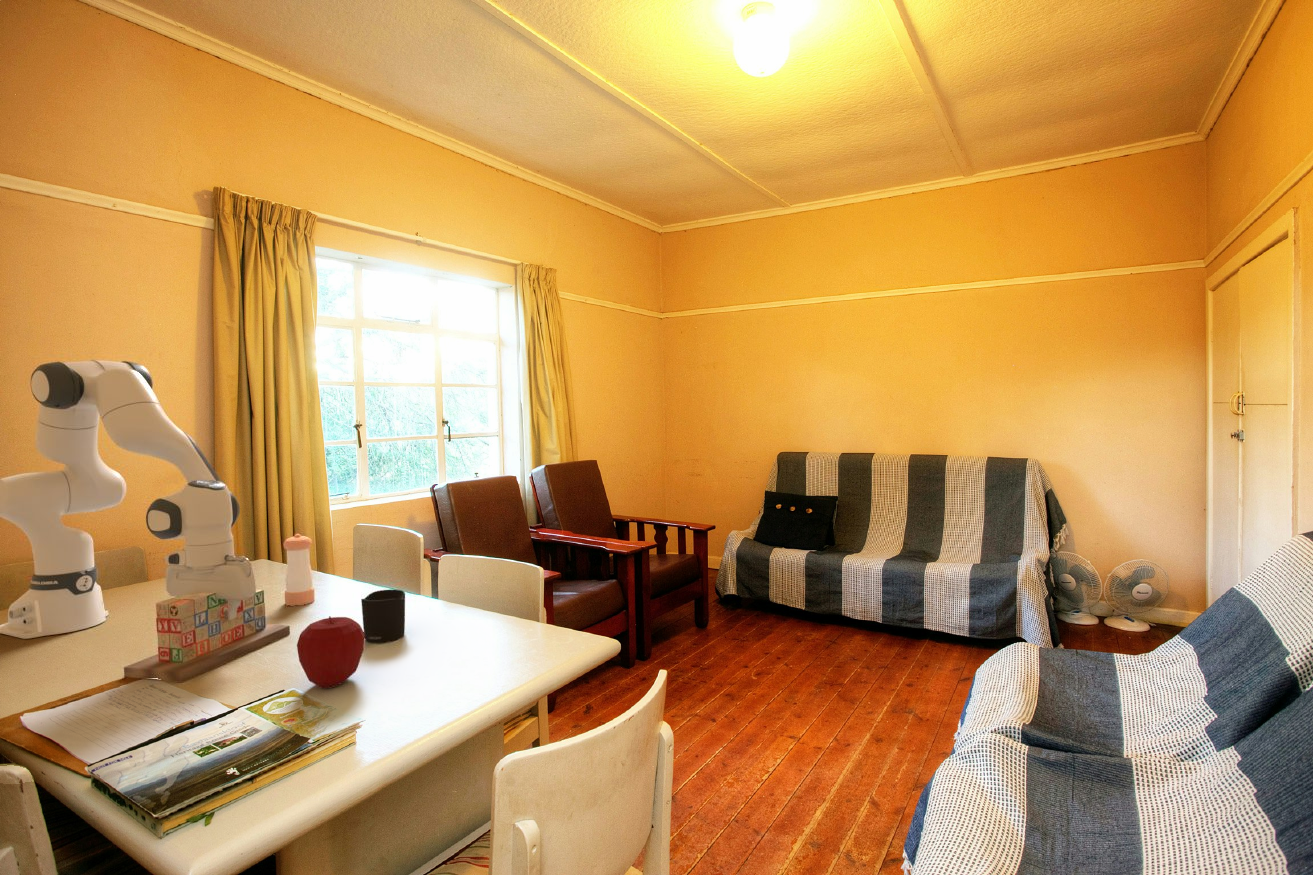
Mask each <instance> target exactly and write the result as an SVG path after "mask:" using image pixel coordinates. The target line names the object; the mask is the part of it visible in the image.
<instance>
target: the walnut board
mask: <svg viewBox="0 0 1313 875" xmlns="http://www.w3.org/2000/svg"><path fill="white" fill-rule="evenodd" d="M290 627H291V626H290V625H284V624H283V625H282V624H272V623H269V624H268V623H266V628H264V629H262V630H259V631H257V632H255V633H252V634H250V635H247V636H245V637H243V638H240V639H238V640H236V641H233V642H231V643H229V644H226V645H224V646H221V647H220V648H217V649H215V650H213V651H210V652H208V653H206V654H203V655H201V656H199V657H196V658H193V659H191V660H189V661H186V662H184V663H178V662H166V661H159V657H158V653H156V654H155V655H152V656H150V657H146V658H144V659H142V660H139V661H136V662H134V663H131V664H128V665H126V666H124V667H123V677H124V678H130V679H140V678H141V679H143V680H147V679H146V678H158V679H161V680H160V681H162V680H163V681H165V682H173V683H174V682H175V683H183V682H186V681H188V680H190V679H192V678H194V677H197V676H199V675H202V674H203V673H205V672H208V671H211V670H212V669H214V668H217V667H219V666H222V665H224V664H226V663H228V662H231V661H233V660H234V659H237V658H239V657H242V656H244V655H246V654H248V653H250V652H252V651H254V650H257V649H259V648H262V647H263V646H266V645H268V644H270V643H272V642H275V641H277V640H280V639H282V638H284V637H286V636H288V635H290V634H291V628H290Z"/></svg>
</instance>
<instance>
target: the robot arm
mask: <svg viewBox="0 0 1313 875" xmlns="http://www.w3.org/2000/svg"><path fill="white" fill-rule="evenodd" d="M30 389H31V393H32V396H33V397H34V399H35V400H36V402H38V403H39V407H38V413H37V420H36V421H37V422H36V433H35V442H34V444H35V449H36V451H37V452H38V453H39V455H41V456H42V457H44V458H46V459H47V460H50V461H53V462H56V463H59V464H62V465H64V468H63V469H61V470H56V471H53V470H52V471H42V472H41V471H40V472H27V473H26V472H25V473H20V474H19V473H18V474H14V475H10V476H6V477H2V478H0V518H2V519H4V520H6V521H8V522H11V523H13V524H14V526H17V527H18V528H19V529H20V530H21V531H22V532H23V533H24V535H26V536H27V538H28V540H29V543H30V546H31V551H32V556H33V564H34V565H33V566H34V567H33V569H34V573H33V575H32V574H31V575H28V576H26V578H28V579H27V580H26V581H27V582H30V583H29V587H28V590H27V591H26V592H25V593H24V594H22V595H21V596H20V597H19V598H18V599H16V600H15V601H14V602H12V603H11V604H10V606H9V607H8V612H7V622H5V623H3V624H0V634H4V635H8V636H11V637H15V638H19V639H22V640H23V639H24V640H26V639H28V640H29V639H33V638H39V637H44V636H51V635H60V634H66V633H71V632H77V631H81V630H84V629H89V628H91V627H94V626H97V625H99V624H102V623H104V622H105V621H106V619H107V618H106V617H108V616H109V610H105V605H104V600H103V599H104V598H103V593H102V592H103V591H102V588H101V586H100V585H99V584H98V583H97V581H98V579H99V578H98V574H99V573H98V567H97V566H96V565H95V549H94V547H95V546H94V539H93V537H92V536H91V535H90V533H88V532H86V531H85V530H82V529H78V528H75V527H71V526H67V525H65V523H63V519H62V516H66V515H73V514H74V515H75V514H83V513H91V512H99V511H102V510H106V509H109V508H113V507H116V506H118V505H120V504H121V503H122V502H123V500H124V498H125V497H126V494H127V489H128V488H127V487H128V486H127V484H126V480H125V479H124V477H123V476H122V474H120V473H119V472H118V471H117V470H114V469H112V468H111V467H110V466H108V465H107V464H106V463H105V462H104V461H103V459H102V458H101V456H100V453H99V448H98V445H99V444H98V441H99V440H98V437H99V425H100V420H101V422H102V424H103V427H104V429H105V431H106V433H107V435H108V436H109V438H110V439H111V441H112V442H113V443H114V444H115V445H117V446H118V447H119V448H121V449H122V450H124V451H127V452H129V453H130V452H131V453H133V454H138V455H145V456H149V457H152V458H157V459H161V460H164V461H166V462H168V463H169V464H171V465H174V466H175V467H176V469H178V470H179V471H180V472H181V474H182V475H183V478H184V479H185V480H186V482H187V483H185V484H184V487H183V488H182V489H180V490H178V491H176V492H175V493H172V494H169V495H165V496H163V497H160V498H157V499H155V500H153V501H152V502H151V503H150V505H149V507H148V508H147V511H146V516H145V522H146V526H147V529H148V530H149V532H150V533H151V534H152V535H153V536H154V537H156V538H158V539H159V540H177V539H182V538H184V548H183V549H180V550H178V551H174V552H172V553H169V554H166V555H165V556H164V557H165V558H164V561H165V564H166V565H168V566H166V569H165V588H166V592H167V593H168V595H169V596H170V597H177V596H180V595H184V594H186V593H189V592H192V591H197V592H212V593H216V599H227V600H228V604H230V606H229V608H228V611H224V615H225V616H224V618H225V619H234V618H236V617H237V609H238V607H239V605H240V603H241V600H245V599H248V598H250V597H253V596H254V594H255V593H256V589H257V586H256V585H257V584H256V579H255V572H254V569H253V566H252V565H253V564H252V562H251V561H250V560H249V559H248V558H247V557H246V556H244V555H243V556H242V555H240V556H237V555H235V547H234V546H235V545H234V535H233V532H232V527H233V526H234V525H235V524H236V522H237V521H238V518H239V517H240V513H241V506H240V503H239V501H238V499H237V497H236V496H235V495H234V494H233V493H232V491H231V490H229V487H228V486H227V484H225V483H224V482H222V480H221V479H220V477H219V476H218V474H217V473H216V471H215V470H214V468H213V466H212V464H211V463H210V462H209V461H208V459H207V457H205V454H204V453H203V451H202V450H201V449H200V447H199V446H198V445H197V443H196V442H195V440H194V439H193V438H192V437H191V435H189V434H188V433H186V432H184V431H183V430H182V429H180V428H179V427H178V426H177V425H176V424H175V423H174V422H173V421H172V420H171V419H170V418H169V417H168V415H167V414H166V412H165V411H164V409H163V407H162V405H161V403H160V401H159V399H158V396H156V393H155V392H154V390H153V377H152V375H151V374H150V372H149V370H148V369H147V368H146V367H145V366H144V365H142V364H140V363H137V362H132V361H126V360H125V361H113V360H102V359H100V360H97V359H96V360H95V359H91V360H81V361H67V362H61V361H54V362H53V361H52V362H46V363H42V364H40V365H38V366H37V367H36V368H35V369H34V370H33V371H32V374H31V376H30Z"/></svg>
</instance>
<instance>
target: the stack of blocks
mask: <svg viewBox="0 0 1313 875" xmlns="http://www.w3.org/2000/svg"><path fill="white" fill-rule="evenodd" d="M229 606H230V604H228V600H227V599H216V593H212V592H197V591H192V592H189V593H186V594H184V595H180V596H173V597H172V598H167V599H164V600H162V601H158V602H155V609H156V611H155V612H156V618H155V621H156V634H157V636H156V637H157V654H158V657H159V661H166V662H178V663H184V662H186V661H189V660H191V659H193V658H196V657H199V656H201V655H203V654H206V653H208V652H210V651H213V650H215V649H217V648H220V647H221V646H224V645H226V644H229V643H231V642H233V641H236V640H238V639H240V638H243V637H245V636H247V635H250V634H252V633H255V632H257V631H259V630H262V629H264V628H266V624H267V623H266V602H265V590H264V589H257V588H256V593H255V594H254V596H253V597H250V598H248V599H245V600H241V603H240V605H239V607H238V609H237V617H236V618H234V619H225V618H224V616H225V615H224V611H228V608H229Z"/></svg>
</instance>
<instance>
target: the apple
mask: <svg viewBox="0 0 1313 875" xmlns="http://www.w3.org/2000/svg"><path fill="white" fill-rule="evenodd" d="M364 648H365V634H364V629H362V625H361V624H359V623H358V622H357V621H355V619H352V618H351V617H345V616H335V617H333V616H332V617H331V615H330V616H328V618H322V619H319V620H317V621H314V622H312V623H310V624H308V625H307V626H306V627H305V628H304V629H303V631H301V633H300V635H299V636H298V641H297V644H296V650H297V656H298V662H299V663H300V667H302V669H303V671H304V673H305V676H306V678H307V679H308V682H310V683H312V684H313V685H315V686H317V688H318V687H319V688H320V689H331V688H334V687H338V686H339V685H342V684H344V683H345V682H346V681H347V680H348V679H349V678H351V677H352V676H353V675H354V674H355V673H356V671H357V670H358V668H359V664H360V662H361V659H362V656H363V653H364Z"/></svg>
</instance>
